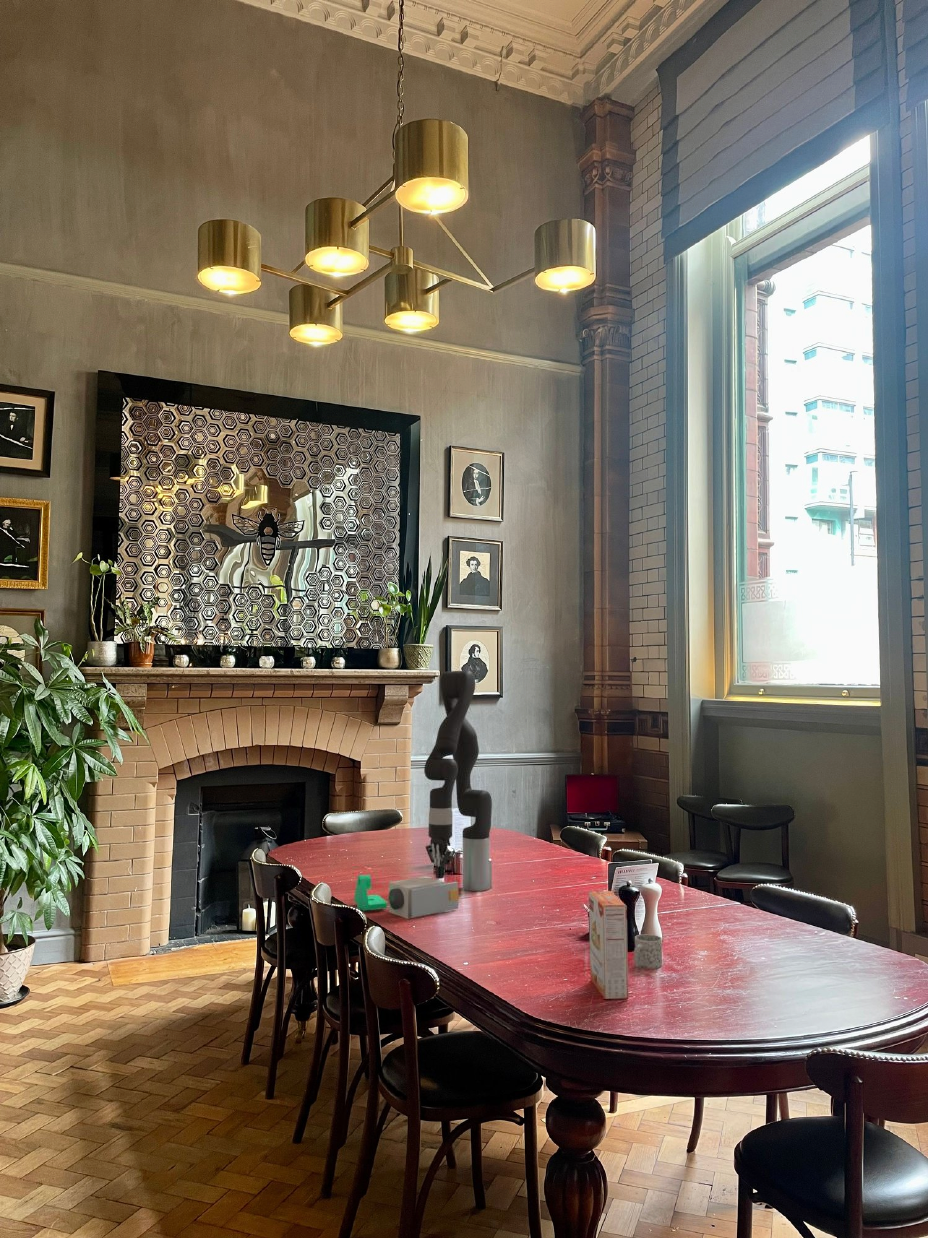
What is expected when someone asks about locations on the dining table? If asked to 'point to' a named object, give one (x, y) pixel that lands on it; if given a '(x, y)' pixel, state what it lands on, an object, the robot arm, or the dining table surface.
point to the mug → (648, 951)
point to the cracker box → (608, 944)
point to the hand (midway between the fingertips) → (439, 878)
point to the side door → (433, 899)
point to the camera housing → (406, 893)
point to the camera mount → (367, 900)
